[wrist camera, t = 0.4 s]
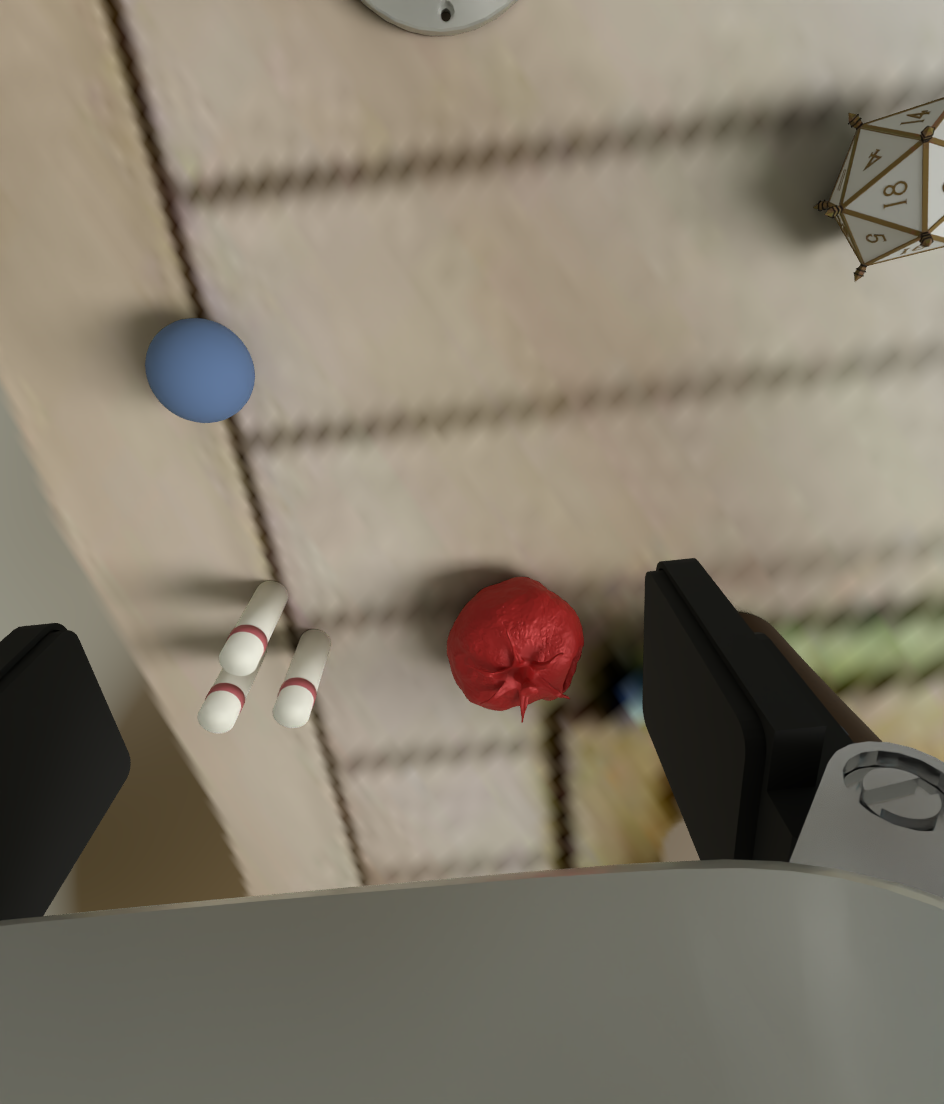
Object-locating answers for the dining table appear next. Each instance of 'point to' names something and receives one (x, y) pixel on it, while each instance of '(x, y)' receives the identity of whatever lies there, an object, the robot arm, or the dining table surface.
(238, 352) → the ball
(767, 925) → the robot arm
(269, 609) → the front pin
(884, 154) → the game die
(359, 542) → the dining table surface
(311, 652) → the pin
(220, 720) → the pin
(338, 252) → the dining table surface
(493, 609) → the pomegranate
